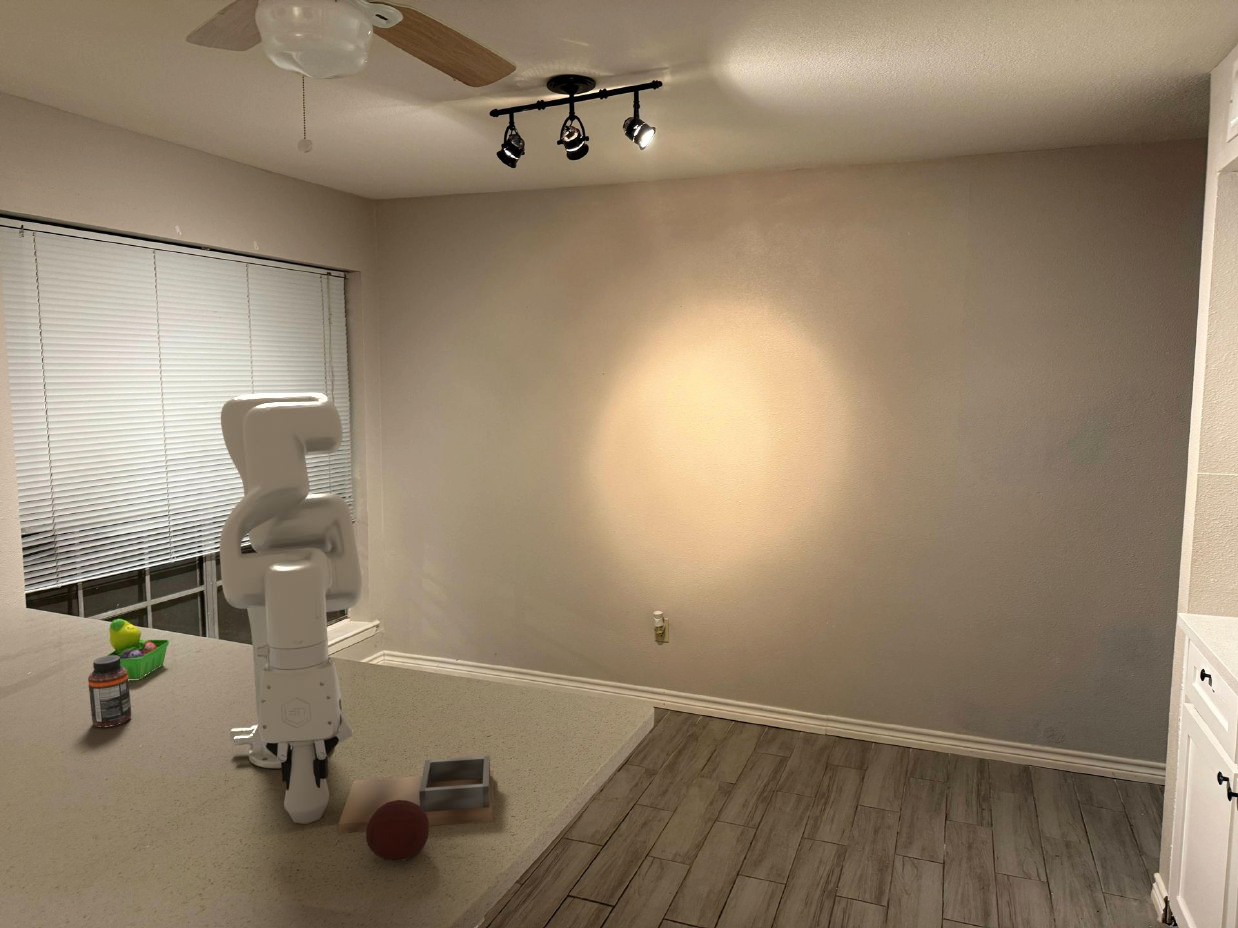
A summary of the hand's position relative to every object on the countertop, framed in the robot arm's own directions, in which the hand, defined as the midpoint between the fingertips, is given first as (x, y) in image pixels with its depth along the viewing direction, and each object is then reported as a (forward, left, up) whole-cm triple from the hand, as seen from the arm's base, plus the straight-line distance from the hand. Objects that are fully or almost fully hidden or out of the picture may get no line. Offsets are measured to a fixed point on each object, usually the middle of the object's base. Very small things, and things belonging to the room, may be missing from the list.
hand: (305, 783), depth 117 cm
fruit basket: (-47, +63, -5) cm, 79 cm away
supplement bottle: (-41, +38, -5) cm, 56 cm away
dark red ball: (+13, -12, -5) cm, 19 cm away
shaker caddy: (+15, +1, -5) cm, 16 cm away
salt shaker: (0, 0, -5) cm, 5 cm away
